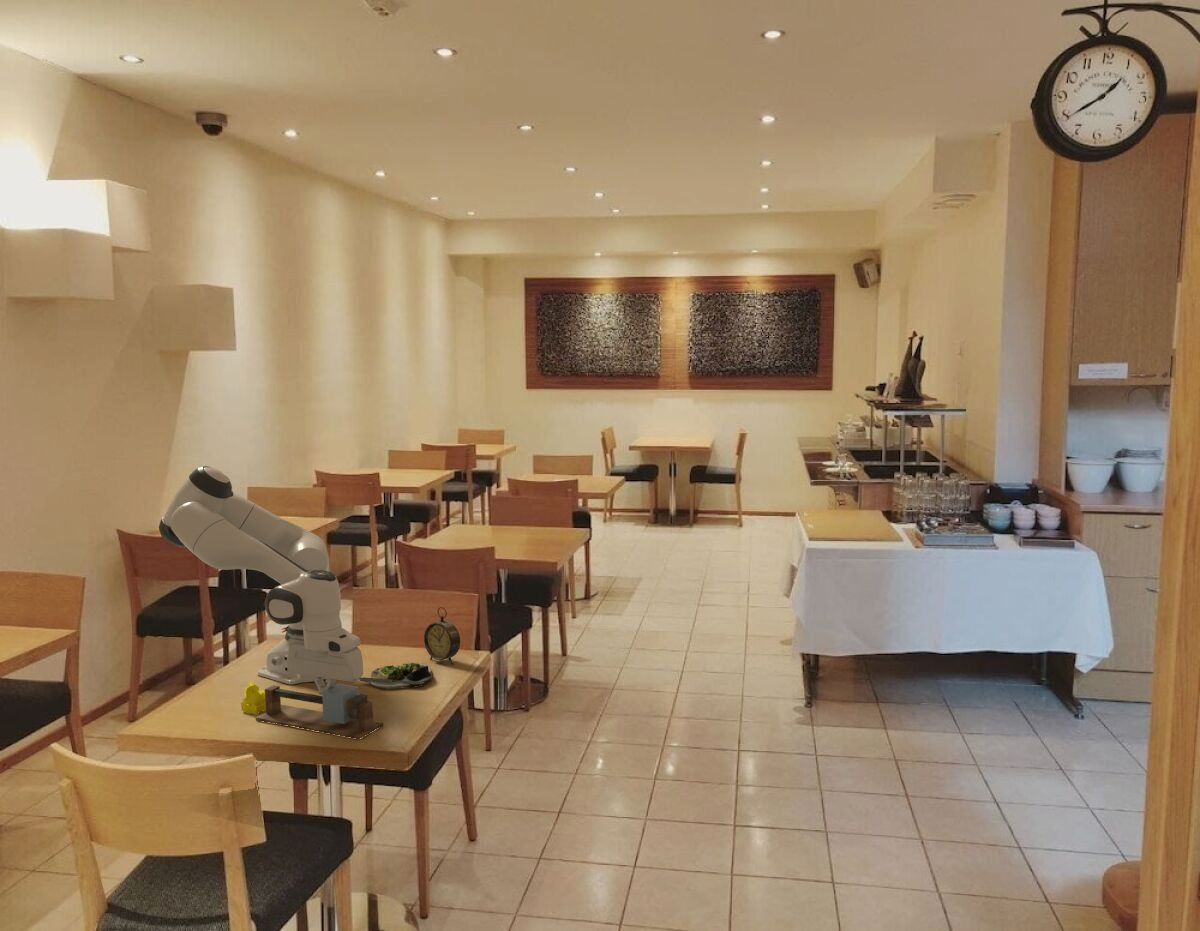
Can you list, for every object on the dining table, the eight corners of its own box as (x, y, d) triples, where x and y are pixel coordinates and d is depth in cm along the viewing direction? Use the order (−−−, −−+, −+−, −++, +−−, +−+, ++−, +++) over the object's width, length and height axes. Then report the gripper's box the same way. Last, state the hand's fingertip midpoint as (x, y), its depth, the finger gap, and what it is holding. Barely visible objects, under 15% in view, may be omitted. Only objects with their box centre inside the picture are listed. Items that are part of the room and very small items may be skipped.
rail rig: (255, 720, 229) (254, 688, 228) (281, 707, 237) (280, 676, 236) (359, 740, 216) (358, 706, 215) (383, 725, 225) (381, 693, 224)
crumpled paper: (264, 715, 232) (262, 685, 231) (236, 712, 234) (234, 682, 233) (277, 706, 238) (276, 677, 237) (250, 703, 240) (248, 674, 239)
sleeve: (323, 720, 222) (322, 691, 221) (339, 711, 228) (338, 683, 227) (344, 723, 220) (342, 695, 219) (360, 714, 225) (358, 686, 224)
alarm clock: (423, 660, 272) (421, 606, 270) (436, 655, 276) (435, 602, 274) (451, 667, 266) (449, 612, 264) (464, 662, 270) (462, 607, 268)
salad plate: (359, 696, 245) (358, 679, 245) (359, 673, 262) (359, 657, 262) (434, 689, 250) (433, 672, 249) (429, 667, 267) (429, 651, 267)
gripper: (279, 637, 224) (282, 692, 226) (349, 647, 216) (351, 704, 218) (297, 629, 230) (300, 684, 232) (366, 639, 222) (368, 695, 224)
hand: (325, 694), depth 225 cm, fingers closed
